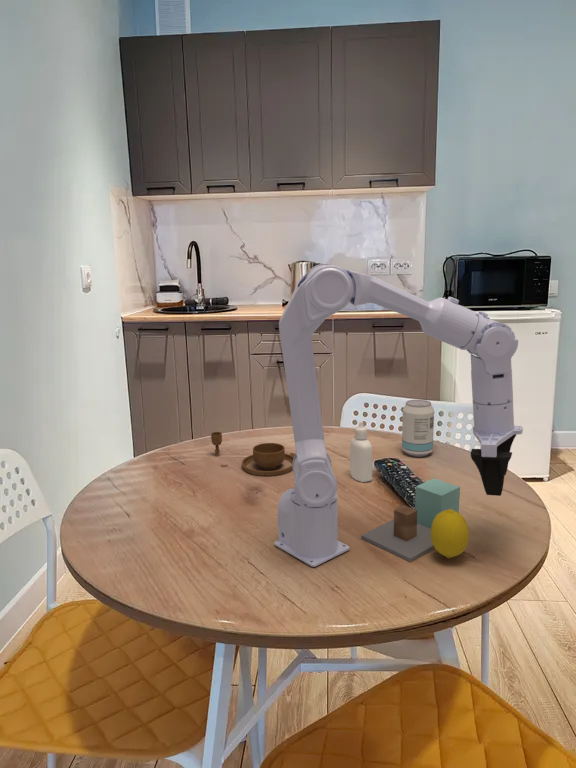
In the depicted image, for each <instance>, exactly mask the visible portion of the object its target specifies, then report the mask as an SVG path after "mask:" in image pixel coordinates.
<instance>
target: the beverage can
mask: <svg viewBox="0 0 576 768" xmlns="http://www.w3.org/2000/svg"><path fill="white" fill-rule="evenodd" d="M401 422H402V427H401V428H402V429H401V430H402V431H401V435H402V436H401V450H402V451H403V452H405V453H406V455H408V456H410V457H413V458H414V457H415V458H416V457H417V458H421V457H422V458H423V457H426V456H428V455H429V454H430V453H432V452H433V450H434V429H435V427H434V426H435V425H434V422H435V410H434V408H433V405H432V402H431V401H430V400H426V399H409V400H407V401H406V402H405V404H404V406H403V408H402V421H401Z"/></svg>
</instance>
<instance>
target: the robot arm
mask: <svg viewBox="0 0 576 768" xmlns="http://www.w3.org/2000/svg"><path fill="white" fill-rule="evenodd" d="M349 303H350V304H351V305H353V306H360V305H365V304H366V305H367V304H375V305H377V306H379V307H382V308H384V309H387V310H390V311H392V312H394V313H397V314H400V315H402V316H405V317H408V318H410V319H412V320H415V321H418V322H419V324H420V327H421V330H422V332H423V334H425V335H426V336H428V337H432V338H433V339H436V340H438V341H441V342H442V343H445V344H447V345H449V346H452V347H455V348H456V349H459V350H463V351H466V352H467V353H469V354H470V366H471V367H470V369H471V370H470V377H471V378H470V379H471V393H472V398H471V399H472V412H473V413H472V414H473V416H472V417H473V427H472V434H473V435H474V437H475V438H476V439H477V441H478V442H479V444H480V448H471V451H470V458H471V460H472V462H473V463H474V465H475V466H476V468H477V470H478V472H479V476H480V478H481V482H482V486H483V489H484V492H485V494H486V496H496V497H499V496H500V497H501V496H502V493H503V490H504V484H505V483H504V482H505V476H506V475H507V473H508V467H509V462H510V460H511V459H512V455H513V452H512V451H511V449H512V445H513V443H514V440H515V438H516V437H517V435H522V434H523V431H524V430H523V429H524V428H523V426H522V425H515V420H514V419H515V415H514V414H515V413H514V394H513V393H514V390H513V369H512V357H513V356H514V355H515V353H516V352H517V349H518V346H519V340H518V339H517V338H516V336H515V335H516V334H515V333H514V331H513V330H512V327H510V326H509V325H507V324H506V323H503V322H500V321H497V320H493V319H492V318H491V317H488V316H489V313H487V312H485V311H482V310H479V312H477V311H475V310H472V309H470V308H468V307H465V306H463V305H460V304H459V303H460V300H459V299H457V298H454V297H452V296H448V297H447V298H444V297H442V296H441V297H437V298H434V299H432V300H429V301H427V300H425V299H422V298H421V297H419V296H417V295H414V294H412V293H410V292H408V291H405V290H403V289H401V288H399V287H397V286H395V285H393V284H390V283H388V282H386V281H384V280H382V279H380V278H378V277H375V276H374V275H370V274H366V273H362V272H358V271H355V270H349V269H345V268H341V267H339V266H337V265H332V264H328V263H319V264H317V265H315V266H313V267H311V268H310V269H309V270H308V271H307V272H306V273H305V274H304V275H303V276H302V277H301V278H300V279H298V281H297V283H296V286H295V287H294V290H293V291H292V294H291V296H290V298H289V301H288V303H287V304H286V307H285V308H284V310H283V312H282V314H281V316H280V318H279V320H278V321H279V322H278V329H279V330H278V331H279V338H280V344H281V353H282V358H283V359H282V360H283V366H284V372H285V381H286V388H287V397H288V402H289V409H290V416H291V424H292V425H291V426H292V431H293V438H294V439H293V440H294V446H295V453H294V454H295V457H294V459H293V463H292V464H291V466H292V468H293V470H292V472H293V479H294V483H293V486H294V487H291V488H289V489H287V490H285V491H284V492H283V493H282V495H281V496H280V498H279V501H278V504H277V531H278V534H277V535H278V540H276V541H274V543H273V544H274V546H275V547H278V548H279V549H280V550H283V551H284V552H286V553H288V554H290V555H291V556H293V557H295V558H297V559H299V560H300V561H302V562H304V563H305V564H306V565H308V566H311V567H313V568H315V567H318V566H319V565H321V564H324V563H326V562H327V561H329V560H331V559H334V558H336V557H338V556H339V555H341V554H344V553H346V552H348V551H349V550H350V549H351V547H350V546H349V545H348V544H346V543H344V542H341V541H340V540H338V539H339V537H338V531H339V530H338V524H339V521H338V519H339V518H338V513H339V511H338V492H337V491H338V480H337V477H336V476H335V474H334V471H333V466H332V465H333V464H332V460H331V457H330V455H329V454H328V452H327V448H326V443H325V442H326V441H325V435H324V427H323V420H322V412H321V411H322V410H321V404H320V403H321V402H320V395H319V388H318V387H319V386H318V380H317V372H316V363H315V355H314V354H315V353H314V348H313V347H314V346H313V339H312V336H313V334H314V333H315V332H316V331H317V329H319V328H320V327H321V325H322V324H323V323H324V322H325V320H326V319H328V318H329V317H332V316H333V315H335V314H336V313H339V311H341V310H343V309H344V308H345V307H346V306H347V305H348V304H349Z"/></svg>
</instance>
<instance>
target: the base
mask: <svg viewBox="0 0 576 768" xmlns="http://www.w3.org/2000/svg"><path fill="white" fill-rule="evenodd" d="M360 536H361V537H360V539H361V540H363V541H366V542H368V543H370V544H372V545H374V546H376V547H378V548H380V549H382V550H385V551H387V552H389V553H391V554H393V555H395V556H397V557H399V558H401V559H403V560H405V561H408V562H410V563H412V562H413V561H415V560H416V559H418V557H419V558H420V557H422V556H424V555H425V554H427V553H429V552H431V551H432V549H433V550H434V549H435V548H434V546H433V544H432V541H431V529H430V528H428V527H425V526H423V525H421V524H418V523H417V536H416V537H414V538H412V539H410V540H408V541H405V540H402V539H400V538H398V537H396V536H394V518H393V519H392V520H388V522H386V523H383V524H381V525H379V526H377V527H375V528H374V529H371V530H369V531H366V532H364V533H362V534H361V535H360ZM411 561H412V562H411Z"/></svg>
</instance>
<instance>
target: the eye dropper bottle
mask: <svg viewBox="0 0 576 768" xmlns="http://www.w3.org/2000/svg"><path fill="white" fill-rule="evenodd" d="M349 445H350V446H349V449H350V450H349V451H350V452H349V457H350V459H349V474H350V476H351V478H352V479H354V480H355V481H358V482H361V483H367V482H371V481H372V480H373V446H372V443H371V441H369V439H368V428H367V427H365V426H364V422H363V421H362V420H361V421H359V422H358V426H357V427H355V428H354V438H351V440H350V444H349Z"/></svg>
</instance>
